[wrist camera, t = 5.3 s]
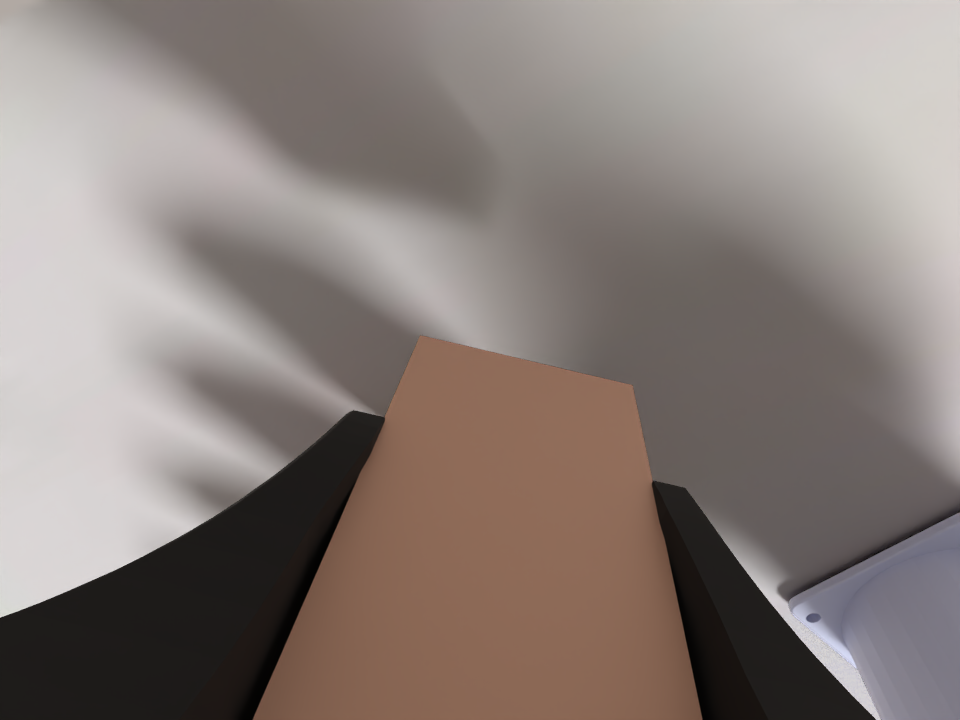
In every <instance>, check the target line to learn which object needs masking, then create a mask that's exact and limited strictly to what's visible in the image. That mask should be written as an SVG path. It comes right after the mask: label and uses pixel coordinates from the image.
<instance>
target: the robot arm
mask: <svg viewBox="0 0 960 720" xmlns="http://www.w3.org/2000/svg"><path fill="white" fill-rule="evenodd" d="M384 422H385V418H384V417H380V416H376V415H372V414H367V413H363V412H359V411H355V410H353V411H351V412H349V413H347V414H346V415H345V416H344V417H343V418H342V419H341V420H340V421H339V422H338V423H337V424H335V425H334V426H333V427H332V428H331V429H330V430H329V431H328V432H327V433H326V434H324V435H323V436H322V437H321V438H320V439H319V440H317V441H316V442H315V443H314V444H313V445H312V446H310V447H309V448H308V449H307V450H306V451H304V452H303V453H302V454H301V455H299V456H298V457H297V458H296V459H294V460H293V461H292V462H291V463H289V464H288V465H287V466H286V467H284V468H283V469H282V470H281V471H279V472H278V473H277V474H275V475H274V476H273V477H271V478H270V479H269V480H267V481H266V482H264V483H263V484H262V485H260V486H259V487H257V488H256V489H254V490H253V491H252V492H250V493H249V494H247V495H246V496H245V497H243V498H242V499H240V500H239V501H237V502H236V503H234V504H233V505H231V506H230V507H228V508H227V509H225V510H224V511H222V512H221V513H219V514H217V515H216V516H214V517H213V518H211V519H209V520H208V521H206V522H204V523H203V524H201V525H199V526H198V527H196V528H194V529H193V530H191V531H189V532H187V533H186V534H184V535H182V536H180V537H179V538H177V539H175V540H173V541H171V542H169V543H167V544H166V545H164V546H162V547H160V548H158V549H156V550H154V551H152V552H150V553H149V554H147V555H145V556H143V557H141V558H139V559H137V560H135V561H133V562H131V563H129V564H127V565H125V566H123V567H121V568H119V569H117V570H115V571H113V572H110V573H108V574H106V575H104V576H101V577H99V578H97V579H94V580H92V581H90V582H88V583H85V584H83V585H81V586H79V587H76V588H74V589H72V590H69V591H67V592H65V593H63V594H60V595H58V596H55V597H53V598H51V599H48V600H46V601H43V602H41V603H38V604H36V605H33V606H31V607H28V608H26V609H23V610H20V611H18V612H15V613H12V614H9V615H7V616H4V617H1V618H0V720H253V718H254V715H255V713H256V711H257V708H258V706H259V704H260V702H261V699H262V697H263V695H264V692H265V690H266V688H267V685H268V683H269V681H270V679H271V676H272V674H273V672H274V669H275V667H276V665H277V663H278V660H279V658H280V656H281V653H282V651H283V649H284V646H285V644H286V642H287V640H288V637H289V635H290V633H291V630H292V628H293V626H294V624H295V621H296V619H297V617H298V614H299V612H300V610H301V607H302V605H303V603H304V601H305V598H306V596H307V594H308V591H309V589H310V587H311V585H312V582H313V580H314V578H315V575H316V573H317V571H318V568H319V566H320V564H321V562H322V559H323V557H324V555H325V552H326V550H327V548H328V546H329V543H330V541H331V539H332V536H333V534H334V532H335V529H336V527H337V525H338V523H339V520H340V518H341V516H342V513H343V511H344V509H345V507H346V504H347V502H348V500H349V497H350V495H351V493H352V490H353V488H354V486H355V484H356V481H357V479H358V477H359V474H360V472H361V470H362V468H363V467H364V465H365V463H366V462H367V460H368V458H369V457H370V455H371V452H372V450H373V448H374V445H375V443H376V441H377V438H378V436H379V434H380V431H381V429H382V427H383V424H384ZM652 488H653V493H654V498H655V503H656V508H657V513H658V518H659V522H660V526H661V529H662V532H663V535H664V539H665V543H666V547H667V552H668V557H669V562H670V567H671V571H672V576H673V581H674V586H675V590H676V595H677V600H678V605H679V610H680V614H681V619H682V624H683V629H684V633H685V638H686V643H687V648H688V653H689V657H690V662H691V667H692V672H693V677H694V681H695V686H696V691H697V696H698V700H699V705H700V710H701V715H702V720H876V719H875V718H874V717H873V716H872V715H871V714H870V713H869V712H868V711H867V710H866V709H865V708H864V707H863V706H862V705H861V704H860V703H859V702H858V701H857V700H856V699H855V698H854V697H853V696H852V695H851V694H850V693H849V692H848V691H847V690H846V689H845V688H844V686H843V685H842V684H841V683H840V682H839V681H838V680H837V679H836V678H835V677H834V676H833V675H832V674H831V673H830V672H829V670H828V669H827V668H826V667H825V666H824V665H823V664H822V663H821V662H820V661H819V660H818V659H817V658H816V657H815V655H814V654H813V653H812V652H811V651H810V650H809V649H808V647H807V646H806V645H805V644H804V643H803V642H802V641H801V640H800V638H799V637H798V636H797V635H796V634H795V632H794V631H793V630H792V629H791V628H790V626H789V625H788V624H787V623H786V622H785V620H784V619H783V618H782V617H781V615H780V614H779V613H778V612H777V611H776V609H775V608H774V607H773V606H772V605H771V603H770V602H769V601H768V599H767V598H766V597H765V596H764V594H763V593H762V592H761V591H760V589H759V588H758V587H757V585H756V584H755V583H754V582H753V580H752V579H751V578H750V576H749V575H748V574H747V572H746V571H745V570H744V568H743V567H742V566H741V564H740V563H739V562H738V560H737V559H736V557H735V556H734V555H733V553H732V552H731V551H730V549H729V548H728V546H727V545H726V544H725V542H724V541H723V539H722V538H721V537H720V535H719V534H718V533H717V531H716V530H715V528H714V527H713V526H712V524H711V523H710V521H709V520H708V518H707V517H706V516H705V514H704V513H703V511H702V510H701V509H700V507H699V506H698V504H697V503H696V502H695V500H694V499H693V498H692V496H691V495H690V494H689V492H688V491H687V490H686V489H685V488H683V487H678V486H674V485H670V484H665V483H661V482H657V481H653V482H652ZM788 606H789V609H790V611H791V613H792V615H793V616H794V617H795V618H797V619H798V620H799V621H800V622H801V623H802V624H804V625H805V626H806V627H807V628H808V629H810V630H811V631H812V632H813V633H814V634H816V635H817V636H818V637H819V638H820V639H821V640H823V641H824V642H825V643H826V644H827V645H829V646H830V647H831V648H832V649H833V650H835V651H836V652H837V653H838V654H839V655H840V656H842V657H843V658H844V659H845V660H846V661H848V662H849V663H850V664H851V665H852V666H854V667H855V668H856V669H857V670H858V671H859V673H860V675H861V678H862V680H863V682H864V684H865V686H866V688H867V691H868V693H869V695H870V697H871V699H872V701H873V703H874V706H875V708H876V710H877V712H878V714H879V716H880V719H881V720H960V512H959V513H957V514H955V515H953V516H951V517H949V518H947V519H945V520H943V521H941V522H939V523H937V524H935V525H933V526H931V527H929V528H927V529H925V530H923V531H921V532H920V533H918V534H916V535H914V536H912V537H910V538H908V539H906V540H904V541H902V542H900V543H898V544H896V545H894V546H892V547H890V548H888V549H886V550H884V551H882V552H880V553H878V554H876V555H874V556H872V557H871V558H869V559H867V560H865V561H863V562H861V563H859V564H857V565H855V566H853V567H851V568H849V569H847V570H845V571H843V572H841V573H839V574H837V575H835V576H833V577H831V578H829V579H827V580H825V581H823V582H821V583H820V584H818V585H816V586H814V587H812V588H810V589H808V590H806V591H804V592H802V593H800V594H798V595H796V596H794V597H793V598H791V599H790V601H789V603H788Z"/></svg>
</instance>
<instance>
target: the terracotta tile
mask: <svg viewBox="0 0 960 720" xmlns="http://www.w3.org/2000/svg"><path fill="white" fill-rule="evenodd" d="M384 418H385V422H384V424H383V427H382V429H381V431H380V434H379V436H378V438H377V441H376V443H375V445H374V448H373V450H372V452H371V455H370V457H369V458H368V460H367V462H366V463H365V465H364V467H363V468H362V470H361V472H360V474H359V477H358V479H357V481H356V484H355V486H354V488H353V490H352V493H351V495H350V497H349V500H348V502H347V504H346V507H345V509H344V511H343V513H342V516H341V518H340V520H339V523H338V525H337V527H336V529H335V532H334V534H333V536H332V539H331V541H330V543H329V546H328V548H327V550H326V552H325V555H324V557H323V559H322V562H321V564H320V566H319V568H318V571H317V573H316V575H315V578H314V580H313V582H312V585H311V587H310V589H309V591H308V594H307V596H306V598H305V601H304V603H303V605H302V607H301V610H300V612H299V614H298V617H297V619H296V621H295V624H294V626H293V628H292V630H291V633H290V635H289V637H288V640H287V642H286V644H285V646H284V649H283V651H282V653H281V656H280V658H279V660H278V663H277V665H276V667H275V669H274V672H273V674H272V676H271V679H270V681H269V683H268V685H267V688H266V690H265V692H264V695H263V697H262V699H261V702H260V704H259V706H258V708H257V711H256V713H255V715H254V718H253V720H702V715H701V710H700V705H699V700H698V696H697V691H696V686H695V681H694V677H693V672H692V667H691V662H690V657H689V653H688V648H687V643H686V638H685V633H684V629H683V624H682V619H681V614H680V610H679V605H678V600H677V595H676V590H675V586H674V581H673V576H672V571H671V567H670V562H669V557H668V552H667V547H666V543H665V539H664V535H663V532H662V529H661V526H660V522H659V518H658V513H657V508H656V503H655V498H654V493H653V488H652V482H653V480H652V476H651V471H650V466H649V461H648V457H647V452H646V447H645V442H644V437H643V433H642V428H641V423H640V418H639V414H638V409H637V404H636V399H635V394H634V390H633V385H630V384H625V383H621V382H617V381H613V380H608V379H604V378H600V377H596V376H591V375H587V374H583V373H579V372H574V371H570V370H566V369H562V368H557V367H553V366H549V365H545V364H540V363H536V362H532V361H528V360H523V359H519V358H515V357H511V356H506V355H502V354H498V353H494V352H489V351H485V350H481V349H477V348H472V347H468V346H464V345H460V344H455V343H451V342H447V341H443V340H438V339H434V338H430V337H426V336H421V335H420V337H419V339H418V341H417V344H416V346H415V348H414V351H413V353H412V355H411V357H410V360H409V362H408V364H407V367H406V369H405V371H404V373H403V376H402V378H401V380H400V383H399V385H398V387H397V390H396V392H395V394H394V396H393V399H392V401H391V403H390V406H389V408H388V410H387V412H386V415H385V417H384Z"/></svg>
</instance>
